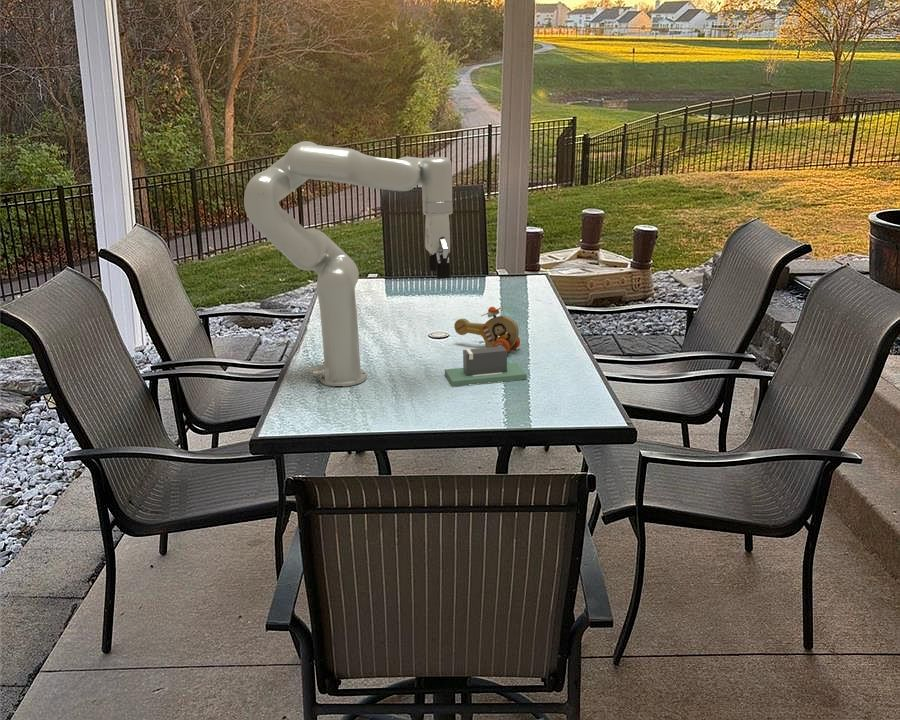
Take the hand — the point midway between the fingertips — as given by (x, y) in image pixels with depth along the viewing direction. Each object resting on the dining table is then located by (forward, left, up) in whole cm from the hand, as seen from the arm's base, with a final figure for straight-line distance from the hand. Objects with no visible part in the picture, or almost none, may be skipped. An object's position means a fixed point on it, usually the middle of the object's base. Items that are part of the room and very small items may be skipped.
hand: (439, 274), depth 225 cm
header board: (+11, -3, -28) cm, 30 cm away
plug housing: (+11, -3, -27) cm, 29 cm away
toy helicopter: (+18, +20, -29) cm, 39 cm away
